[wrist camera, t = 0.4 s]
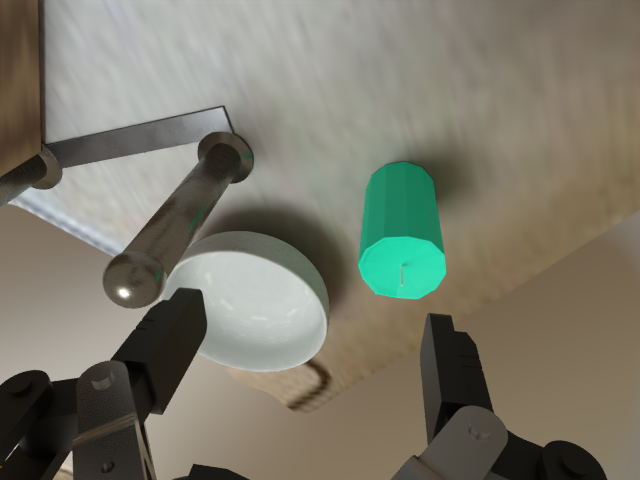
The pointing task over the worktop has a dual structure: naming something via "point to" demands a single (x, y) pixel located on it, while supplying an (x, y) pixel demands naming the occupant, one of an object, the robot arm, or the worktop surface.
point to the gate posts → (178, 210)
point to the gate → (19, 83)
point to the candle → (401, 233)
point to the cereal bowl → (255, 300)
